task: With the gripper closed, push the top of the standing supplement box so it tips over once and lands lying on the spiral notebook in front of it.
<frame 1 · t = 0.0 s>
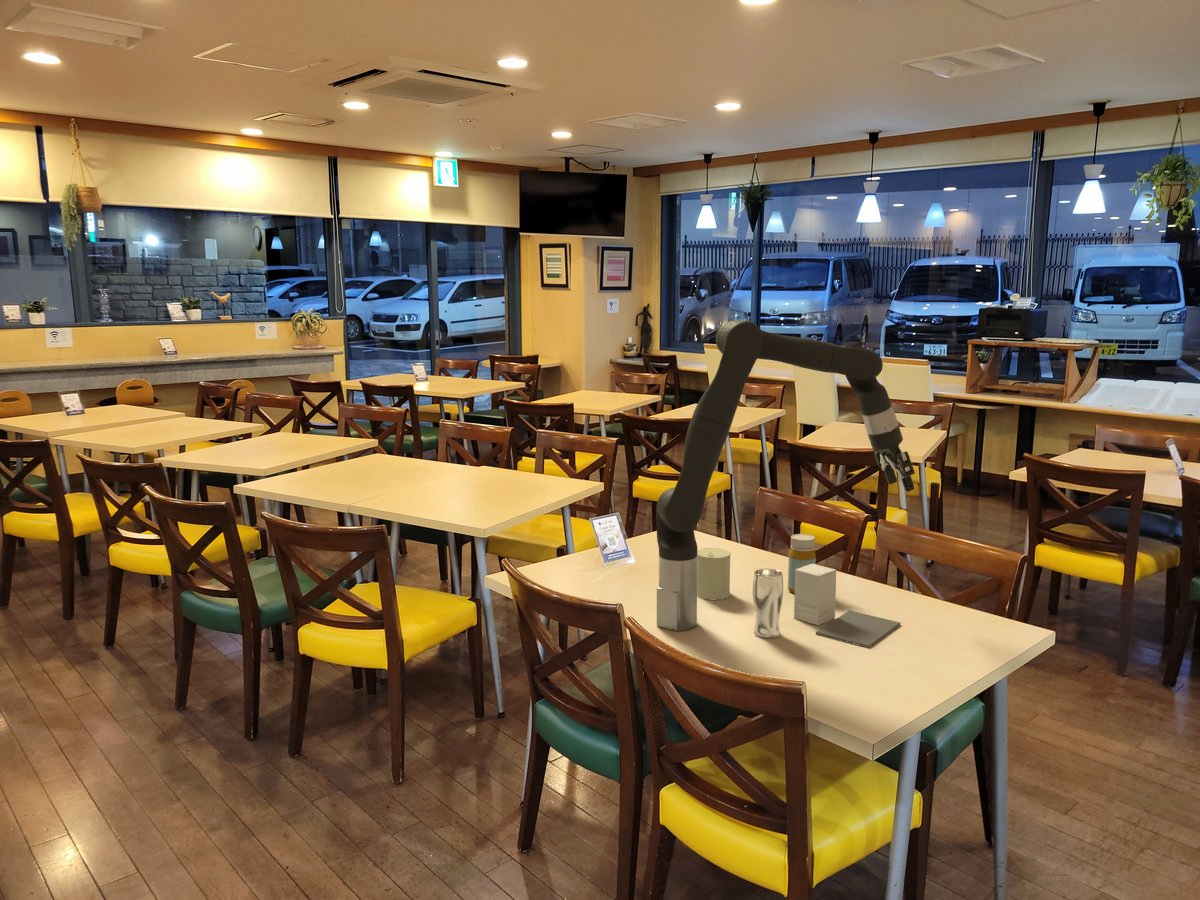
hand: (901, 486, 217), 31 cm above the table, tool tilted 20°, fingers open, 8 cm apart
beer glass: (766, 634, 206), on the table
can: (712, 595, 234), on the table
supplement box: (814, 619, 216), on the table
bottle: (801, 591, 235), on the table
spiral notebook: (858, 629, 208), on the table
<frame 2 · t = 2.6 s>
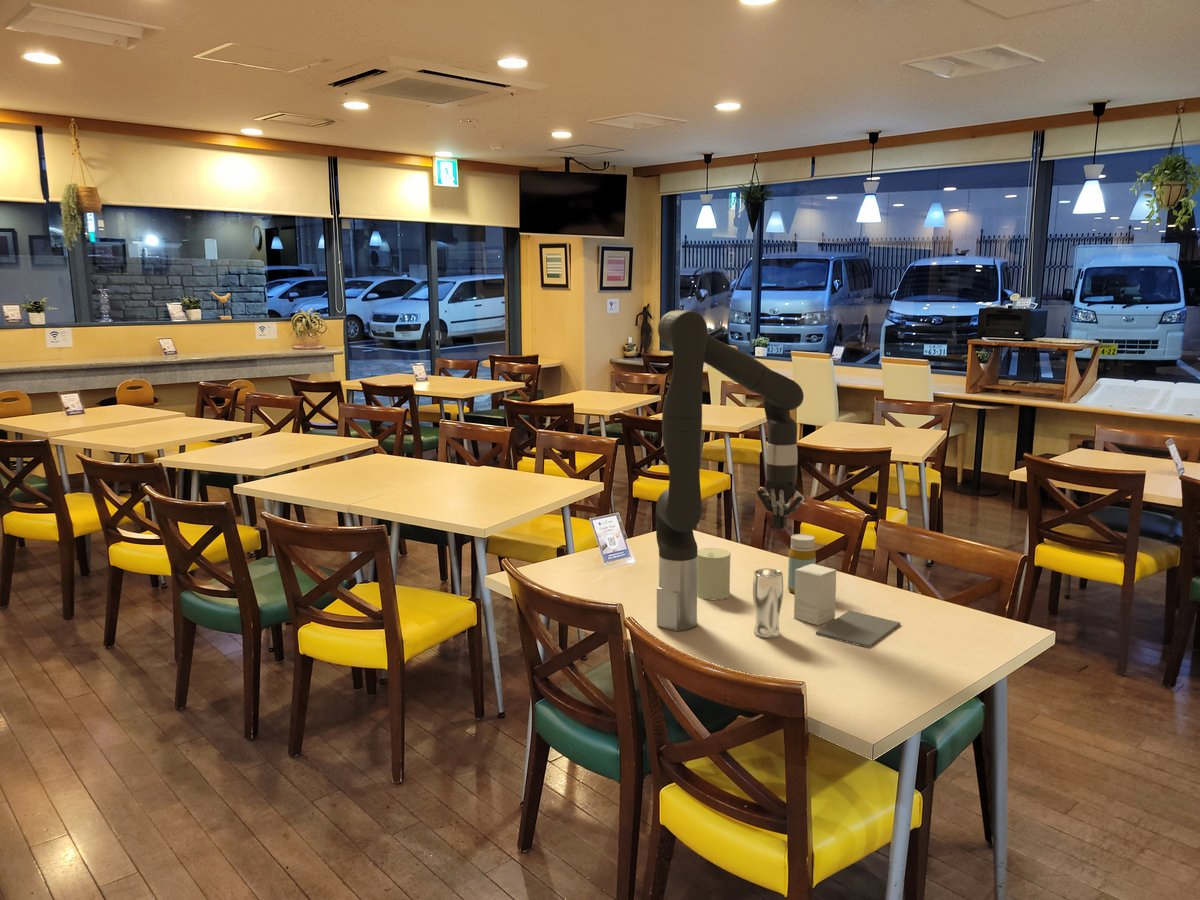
hand: (780, 529, 218), 21 cm above the table, tool pointing down, fingers closed
nothing on the table moved.
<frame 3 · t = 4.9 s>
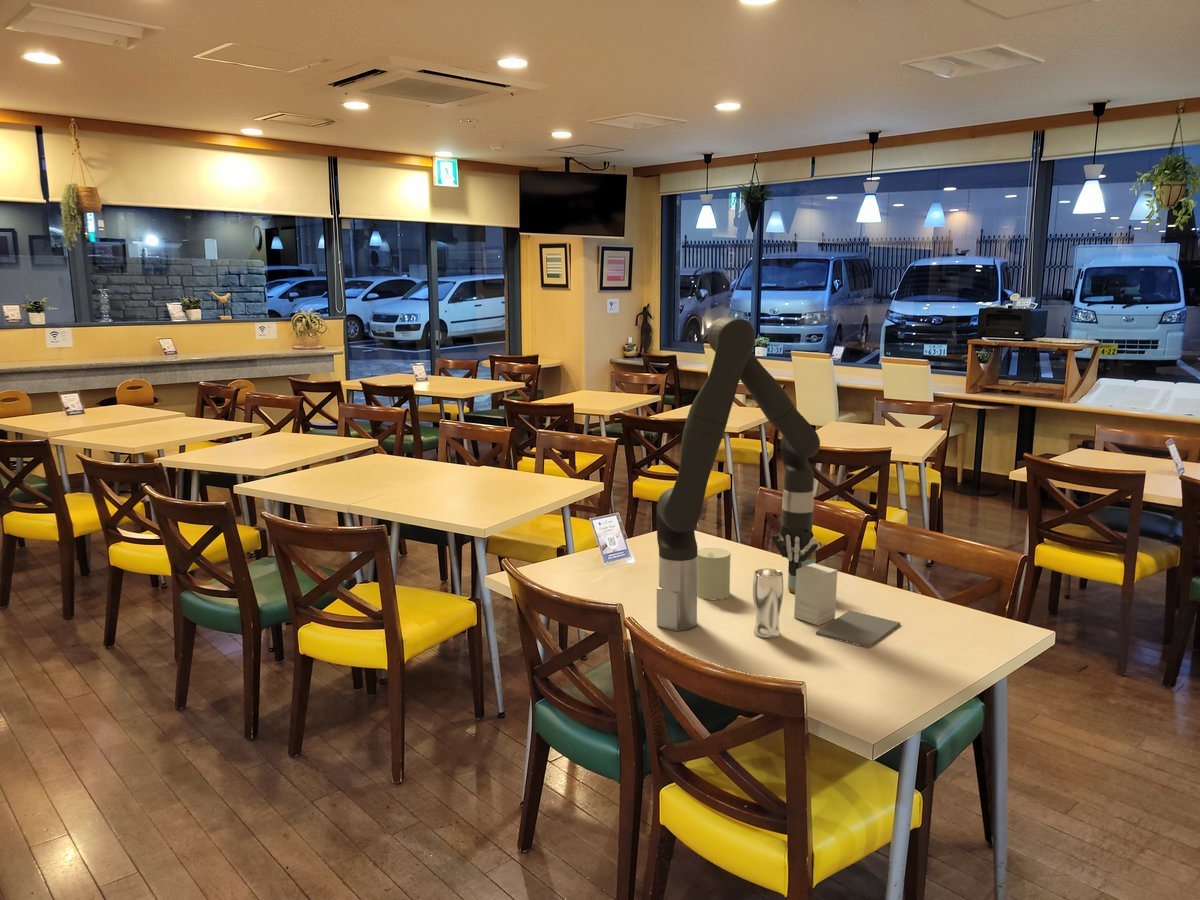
hand: (794, 575, 218), 10 cm above the table, tool pointing down, fingers closed
supplement box: (814, 618, 216), on the table, touching gripper
everything else where it was.
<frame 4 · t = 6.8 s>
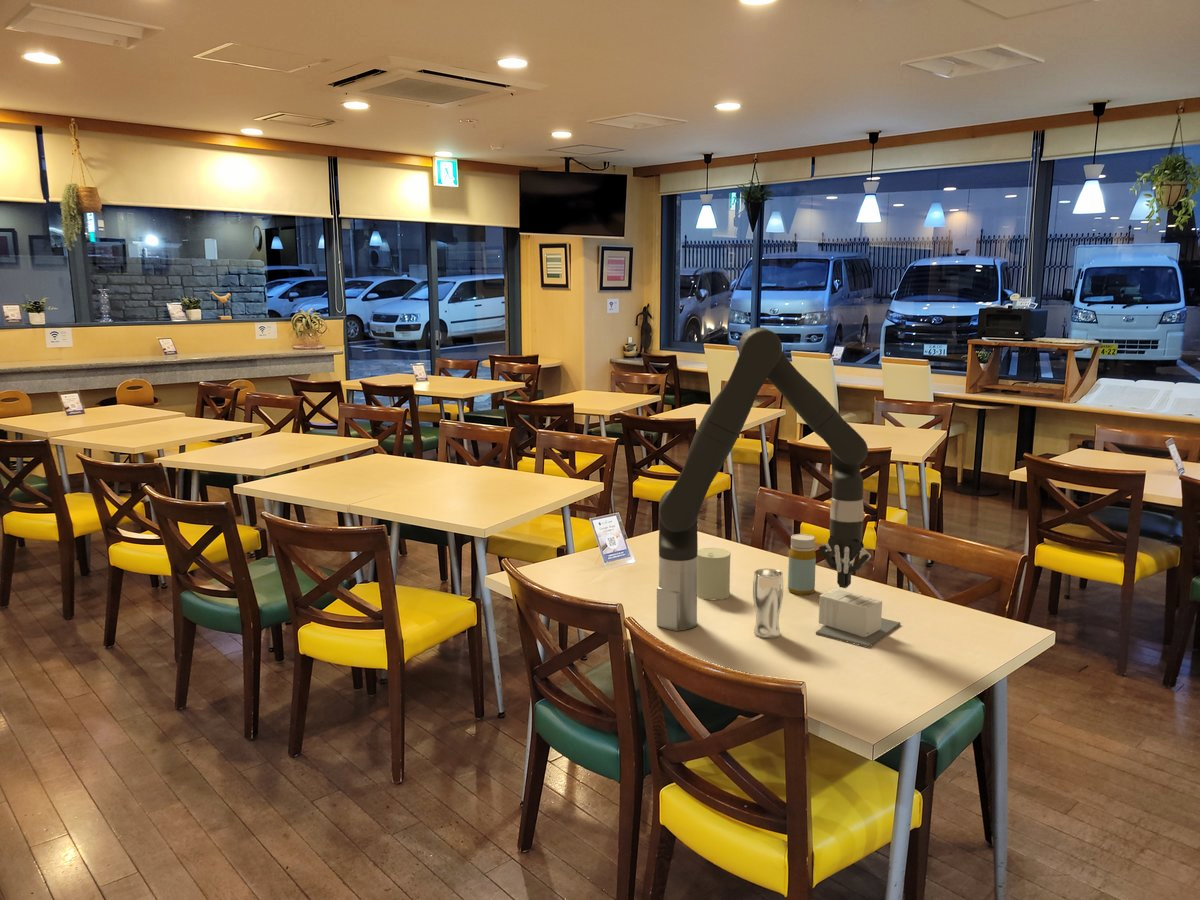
hand: (843, 586, 209), 10 cm above the table, tool pointing down, fingers closed
supplement box: (826, 605, 212), point 4 cm above the table, touching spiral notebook
everything else where it was.
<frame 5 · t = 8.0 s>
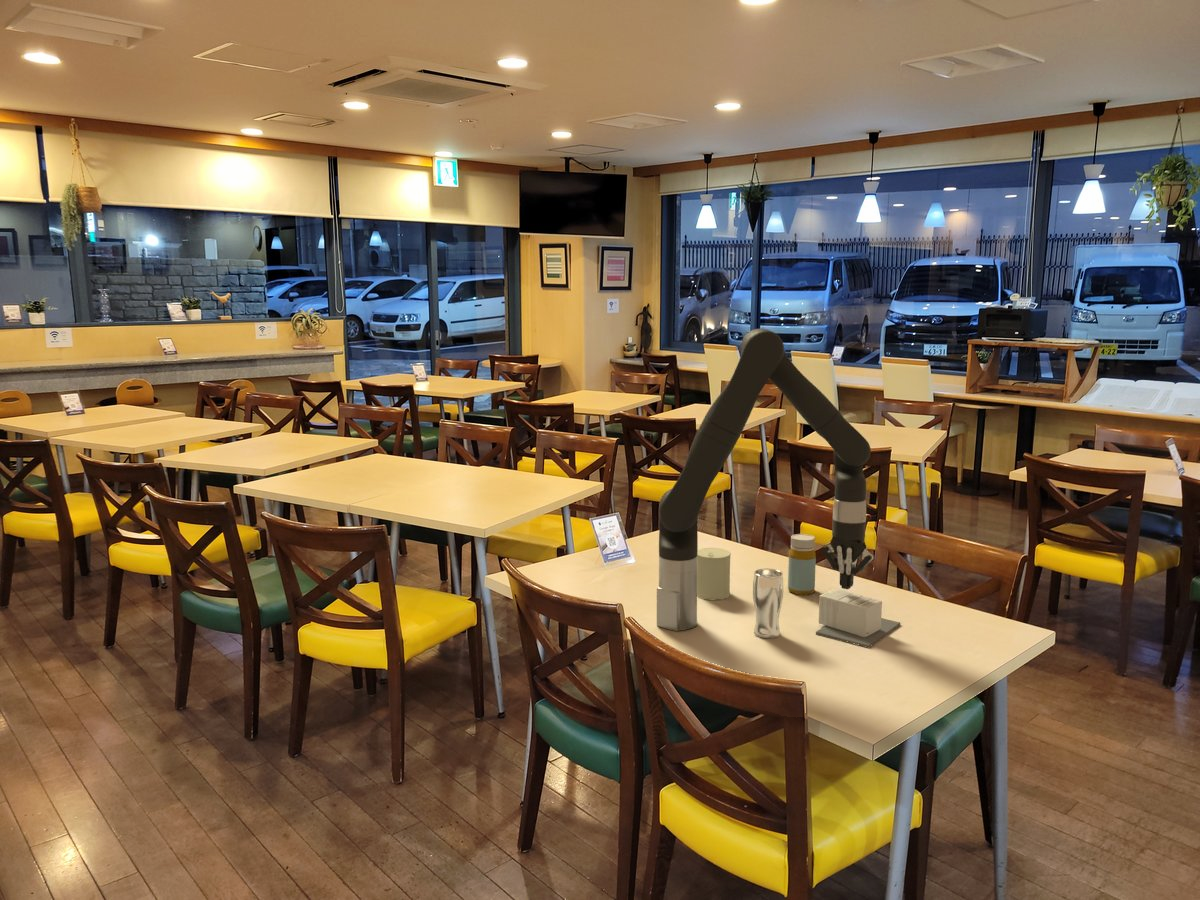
hand: (846, 588, 209), 10 cm above the table, tool pointing down, fingers closed
nothing on the table moved.
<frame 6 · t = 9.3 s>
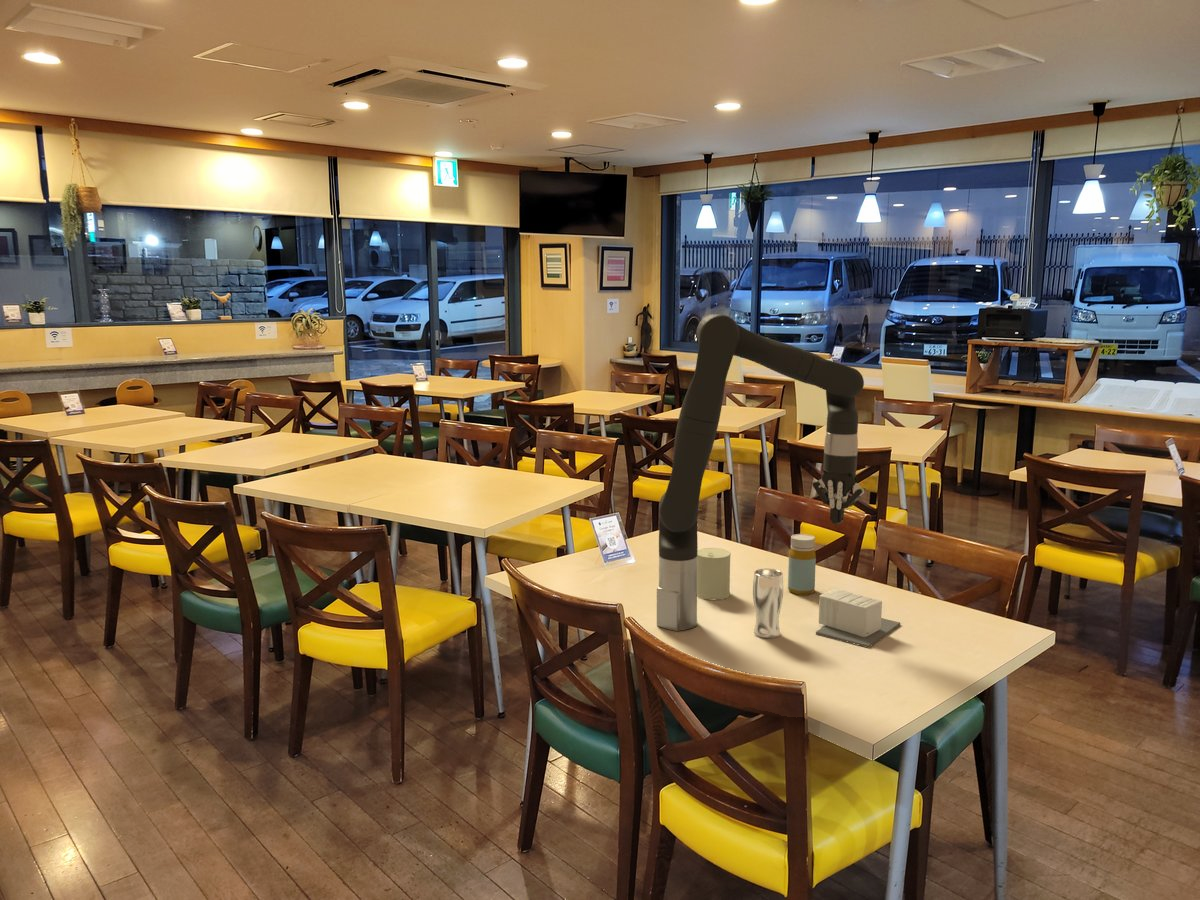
hand: (836, 523, 208), 25 cm above the table, tool pointing down, fingers closed
nothing on the table moved.
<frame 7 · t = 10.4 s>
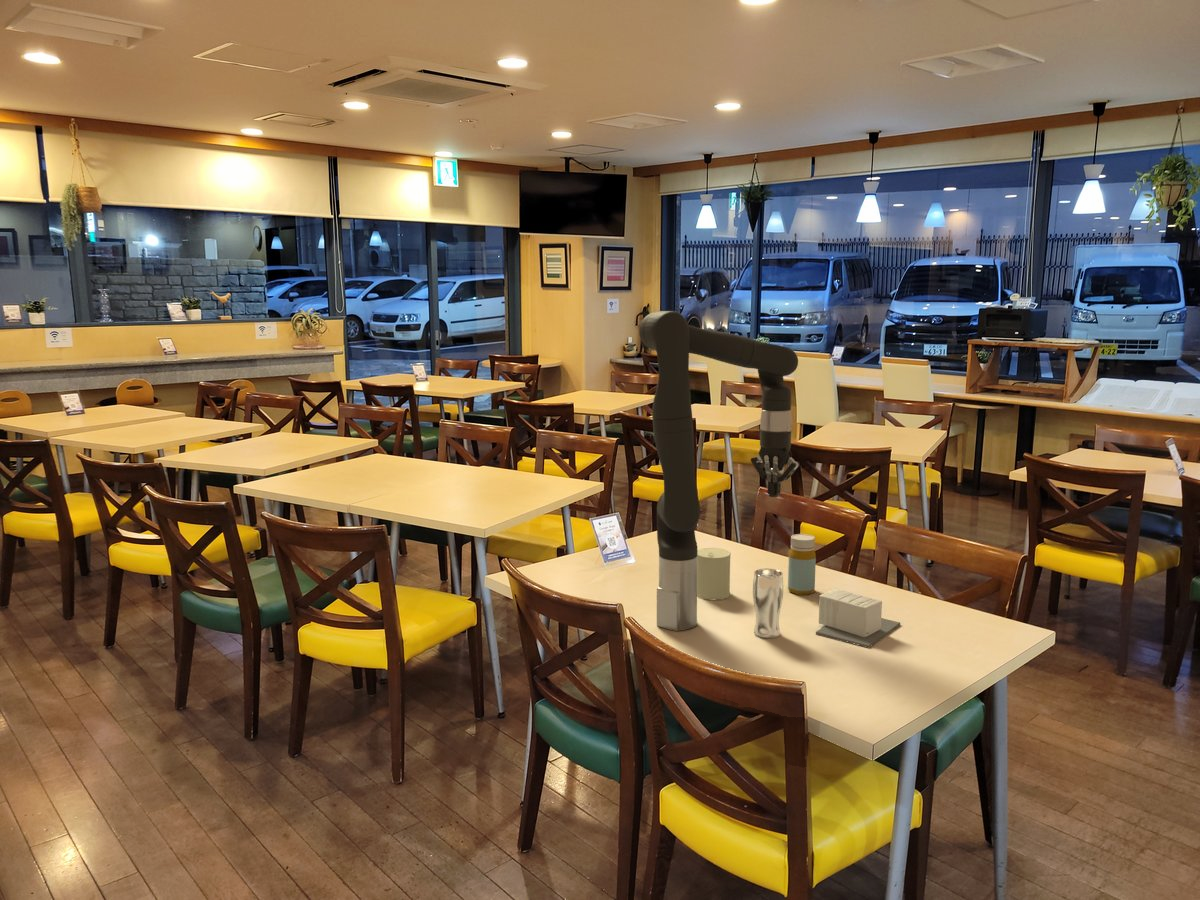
hand: (773, 496, 218), 29 cm above the table, tool pointing down, fingers closed
nothing on the table moved.
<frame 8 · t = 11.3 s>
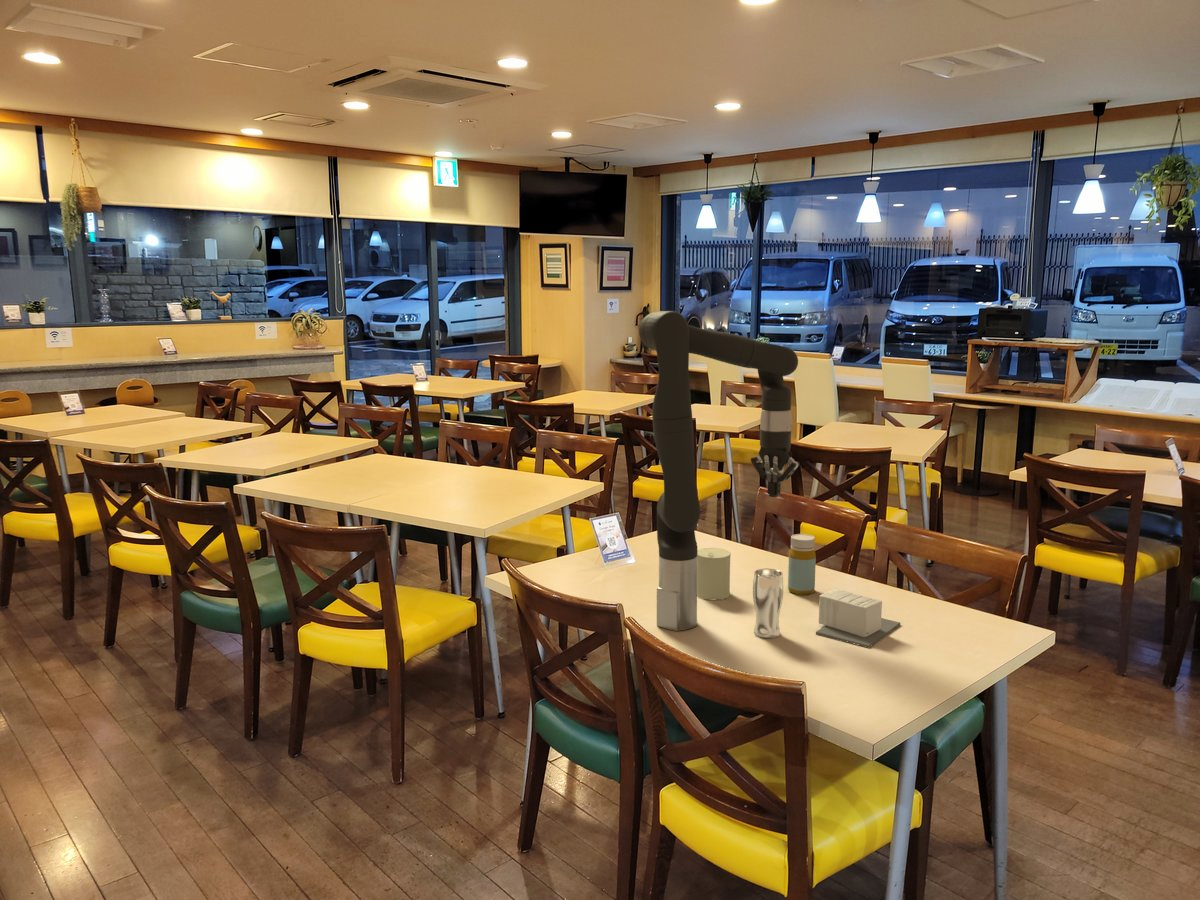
hand: (773, 496, 218), 29 cm above the table, tool pointing down, fingers closed
nothing on the table moved.
at the end: supplement box tilted 90°; supplement box touching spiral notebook; the gripper is holding nothing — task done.
